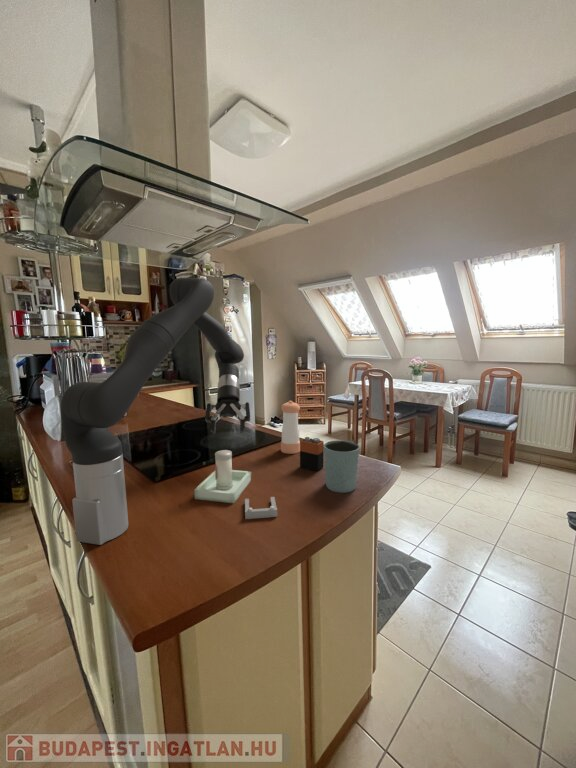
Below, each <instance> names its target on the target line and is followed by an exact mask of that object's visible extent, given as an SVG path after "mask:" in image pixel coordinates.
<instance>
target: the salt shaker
mask: <svg viewBox="0 0 576 768" xmlns="http://www.w3.org/2000/svg"><path fill="white" fill-rule="evenodd" d="M280 409H281V411H282V412H283V413H282V417H283V418H282V421H283V422H282V428H281V441H280V452H281V453H283V454H287V455H291V454H293V455H294V454H297V453H300V441H301V440H300V428H299V412H300V409H301V406H300V405H299V404H298V403H296V402H294V401H292V400H288V402H285V403H283V404H282V405H281V407H280Z"/></svg>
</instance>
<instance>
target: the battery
mask: <svg viewBox="0 0 576 768" xmlns="http://www.w3.org/2000/svg"><path fill="white" fill-rule="evenodd" d="M299 441H300V452H299V467H300V468H302V469H306V470H311V471H313V472H314V471H315V472H318V471H320V470H321V469H323V468H324V456H325V455H324V444H325V442H324V441H323V440H320V438H318V437H314V438H310V437H309V436H305V437H304V439H302V440H299Z"/></svg>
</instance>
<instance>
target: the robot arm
mask: <svg viewBox="0 0 576 768" xmlns="http://www.w3.org/2000/svg"><path fill="white" fill-rule="evenodd" d="M214 289H215V288H214V286H213V284H212V283H211V282H210V281H209V280H208V279H206V278H201V277H177V278H175V279H174V280H173V281H171V283H170V285H169V296H170V297H169V298H170V300H171V302H172V304H173V306H171V307H168V308H166V309H164V310H161V311H160V312H156V313H155V314H154V315H151V316H150V317H148V318H146V319H145V320H144V321H143V322H142V323H141V324H140V325H139V326H138V327H137V328H136V329H135V330H134V331H133V333H132V334H131V335H130V336H129V337H128V340H127V342H126V346H125V354H124V358H123V360H122V362H121V364H120V365H119V366H118V367H117V368H116V370H115V371H114V372H113V373H112V374H110V376H109V377H107V378H106V379H105V380H104V381H102V382H93V381H92V382H90V381H80V382H76V383H73V384H71V385H70V386H68V387H67V389H65V391H64V393H63V395H62V397H61V400H60V416H61V424H62V429H63V435H64V442H65V445H66V447H67V450H68V451H69V452H70V453H69V454H70V455H71V458H72V459H71V460H72V469H73V476H74V477H73V478H74V487H75V496H76V497H74V498H72V500H71V501H72V509H73V520H74V529H75V538H76V542H79V543H85V544H91V545H99V546H101V545H103V544H105V543H107V542H108V541H111V540H114V539H115V538H118V537H120V536H121V535H122V534H124V533H125V532H126V530H128V528H129V516H128V515H129V514H128V504H127V502H128V501H127V491H126V489H127V488H126V480H125V469H124V454H123V443H122V442H121V440H120V439H119V438H118V437H116V436H115V435H114V434H113V433H112V432H111V431H110V429H109V428H111V427H113V426H115V425H116V424H118V423H119V422H120V421H121V420H122V419H123V418H124V416H125V415H126V414H127V412H129V410H130V408H131V406H132V405H133V404H134V402H135V400H136V398H137V397H138V395H139V394H140V391H141V390H142V388H143V387H144V385H145V384H146V383H147V382H148V380H149V379H150V378H151V377H152V375H153V373H155V371H156V369H157V368H158V367H159V366H160V364H161V363H162V362H163V361H164V360H165V359H166V357H167V356H168V355H169V354H170V353H171V351H172V350H173V349H174V347H175V346H176V345H177V344H178V342H179V340H180V339H182V337H183V336H184V334H185V333H186V332H187V331H188V330H189V329H190V327H192V325H194V326H195V327H196V329H198V330H199V331H200V332H201V334H203V336H204V338H205V339H206V340H207V342H208V343H209V344H210V346H211V347H212V349H213V350H214V351H215V352H214V358H215V361H216V364H217V368H218V382H217V393H216V403H215V404H211V402H210V403H209V402H208V403H207V404H206V409H205V415H204V416H205V417H204V418H205V422H206V423H209V424H210V433H212V434H213V435H215V434H216V426H217V422H218V421H219V420H220V419H221V418H222V417H223V418H234V417H235V418H236V419H237V420H238V421H240V422H239V423H240V425H239V429H240V432H239V433H240V434H243V432H245V430H246V427H245V426H246V422H250V421H251V410H250V403H249V402H247V401H246V402H245V403H244V404H243V403H241V401H240V400H241V399H240V397H241V395H240V394H241V393H240V392H241V389H240V381H239V380H240V379H239V378H240V376H239V375H240V373H239V372H240V370H239V368H238V365H236V364H239V363H241V362H243V360H244V357H245V353H244V350H243V348H242V347H241V345H240V344H238V342H236V341H235V340H233V338H231V337H230V335H229V333H228V332H227V330H226V329H225V327H224V326H223V325H222V323H221V322H219V321H218V320H217V319H216V318H215V317H213V316H211V315H210V314H209V313H208V312H207V311H208V310H209V308H210V307H211V306H212V304H213V301H214V297H215V290H214ZM241 409H242V410H243V411H244V412H245V415H243V413H242V412H241ZM214 410H216V411H215V412H214V414H213V415H212V416H211V413H212V412H213V411H214Z"/></svg>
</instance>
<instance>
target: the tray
mask: <svg viewBox="0 0 576 768" xmlns="http://www.w3.org/2000/svg"><path fill="white" fill-rule="evenodd" d="M232 481H233V487H232V488H231V489H229V490H224V491H221V490H218V489H217V488H216V477H215V470H214V471H213V472H211V473H210V474H209V475H208V476H207V478H205V479H204V480H203V481H202V482H200V483H199V485H198V486H196V488H194V490H193V491H194V499H195V500H199V501H200V500H201V501H209V502H219V503H227V504H235V503H236V501H237V500H238V499H239V497H240V496H241V494H242V493H243V492H244V490H245V489H246V488H247V486H248V485H249V484H250V483H251V481H252V471H248V470H236V469H232Z"/></svg>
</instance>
